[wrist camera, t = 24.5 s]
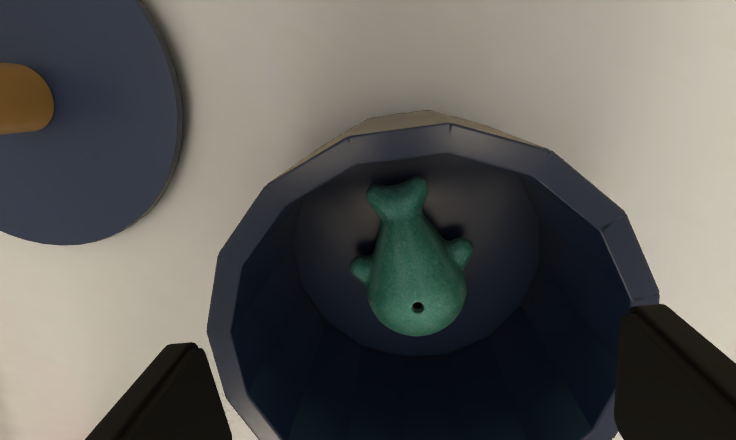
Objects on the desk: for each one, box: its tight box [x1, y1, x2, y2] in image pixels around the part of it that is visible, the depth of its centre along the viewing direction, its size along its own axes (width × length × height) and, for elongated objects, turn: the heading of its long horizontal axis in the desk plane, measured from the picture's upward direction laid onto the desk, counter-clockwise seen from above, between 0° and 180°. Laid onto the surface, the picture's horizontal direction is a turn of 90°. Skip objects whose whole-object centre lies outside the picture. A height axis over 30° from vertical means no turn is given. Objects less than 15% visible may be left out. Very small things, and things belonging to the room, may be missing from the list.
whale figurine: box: [350, 176, 473, 336], centre depth 18 cm, size 6×7×4 cm
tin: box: [207, 110, 660, 440], centre depth 16 cm, size 14×14×8 cm
